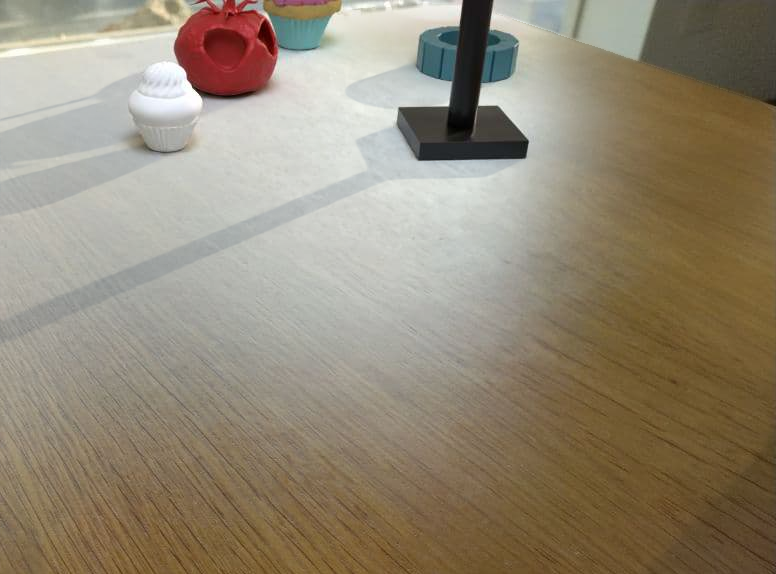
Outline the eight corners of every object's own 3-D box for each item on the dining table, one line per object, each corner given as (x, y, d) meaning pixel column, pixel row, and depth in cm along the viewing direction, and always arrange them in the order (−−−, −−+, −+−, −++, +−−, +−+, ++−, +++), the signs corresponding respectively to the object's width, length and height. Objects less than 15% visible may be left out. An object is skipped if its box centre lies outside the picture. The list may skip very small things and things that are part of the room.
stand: (495, 121, 88) (521, -41, 80) (526, 158, 81) (557, -17, 73) (396, 123, 87) (412, -40, 80) (418, 160, 80) (438, -16, 72)
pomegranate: (157, 81, 97) (153, -19, 92) (242, 66, 102) (242, -30, 96) (210, 109, 90) (208, 3, 85) (298, 91, 95) (302, -11, 90)
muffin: (218, 144, 83) (217, 60, 79) (166, 164, 79) (163, 76, 75) (167, 127, 86) (163, 45, 82) (115, 146, 82) (109, 61, 78)
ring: (497, 54, 106) (502, 25, 104) (525, 81, 98) (531, 50, 96) (408, 55, 105) (411, 26, 104) (428, 83, 97) (432, 52, 96)
